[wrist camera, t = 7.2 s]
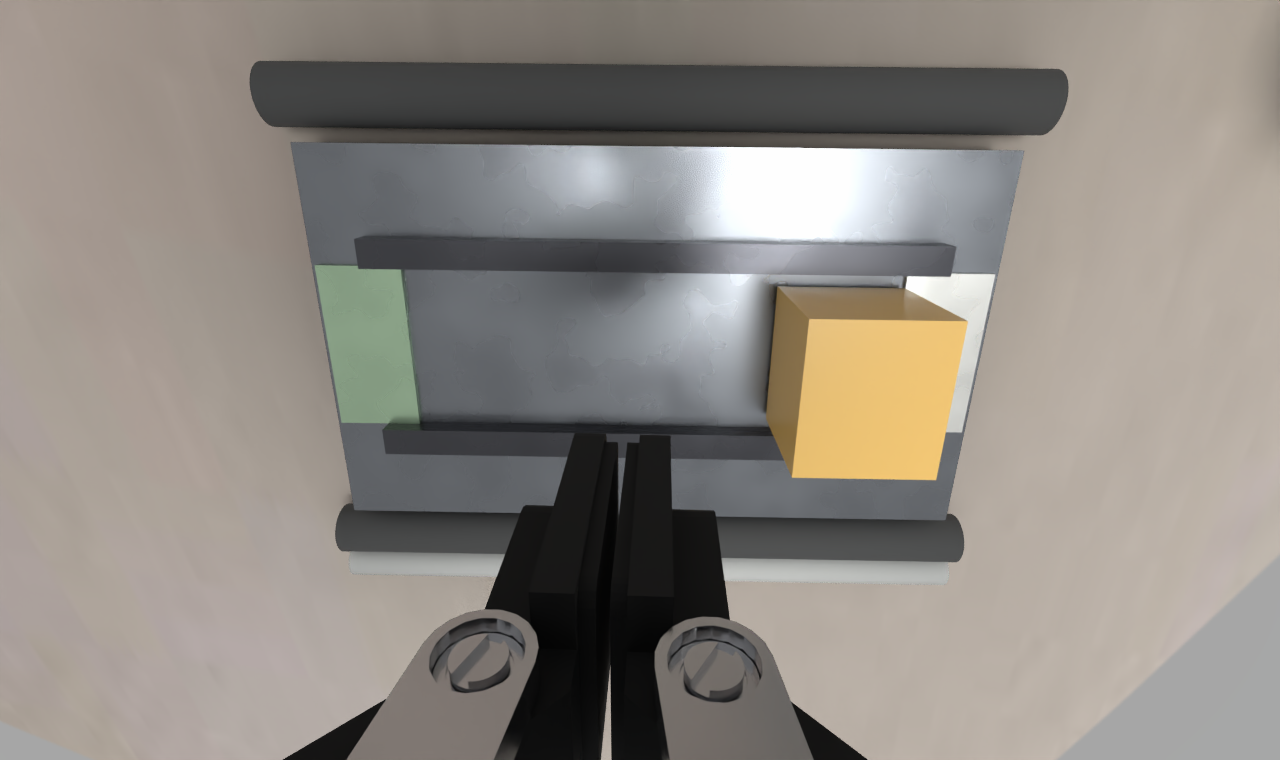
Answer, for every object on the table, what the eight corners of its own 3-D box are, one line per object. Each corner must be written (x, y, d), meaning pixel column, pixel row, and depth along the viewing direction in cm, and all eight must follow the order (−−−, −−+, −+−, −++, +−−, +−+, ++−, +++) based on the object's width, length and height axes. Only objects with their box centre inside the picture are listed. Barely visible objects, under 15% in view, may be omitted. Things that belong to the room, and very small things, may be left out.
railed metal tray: (992, 150, 22) (1039, 150, 19) (924, 494, 27) (954, 531, 24) (321, 143, 22) (276, 141, 19) (375, 485, 27) (345, 520, 24)
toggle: (904, 288, 21) (968, 321, 17) (883, 420, 23) (935, 480, 19) (777, 286, 21) (809, 319, 17) (765, 418, 23) (791, 477, 19)
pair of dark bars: (1036, 72, 21) (1074, 65, 19) (931, 571, 28) (951, 601, 26) (280, 65, 21) (244, 56, 19) (365, 561, 28) (345, 590, 26)
